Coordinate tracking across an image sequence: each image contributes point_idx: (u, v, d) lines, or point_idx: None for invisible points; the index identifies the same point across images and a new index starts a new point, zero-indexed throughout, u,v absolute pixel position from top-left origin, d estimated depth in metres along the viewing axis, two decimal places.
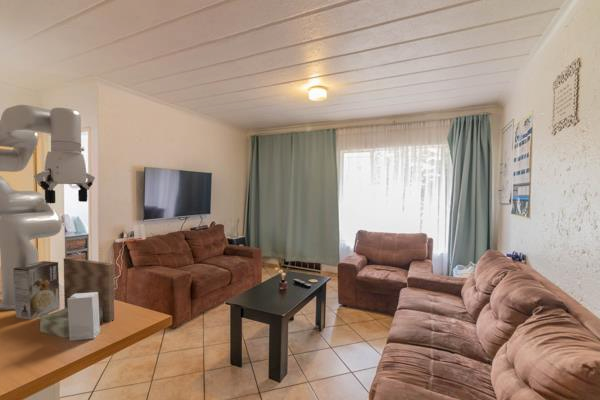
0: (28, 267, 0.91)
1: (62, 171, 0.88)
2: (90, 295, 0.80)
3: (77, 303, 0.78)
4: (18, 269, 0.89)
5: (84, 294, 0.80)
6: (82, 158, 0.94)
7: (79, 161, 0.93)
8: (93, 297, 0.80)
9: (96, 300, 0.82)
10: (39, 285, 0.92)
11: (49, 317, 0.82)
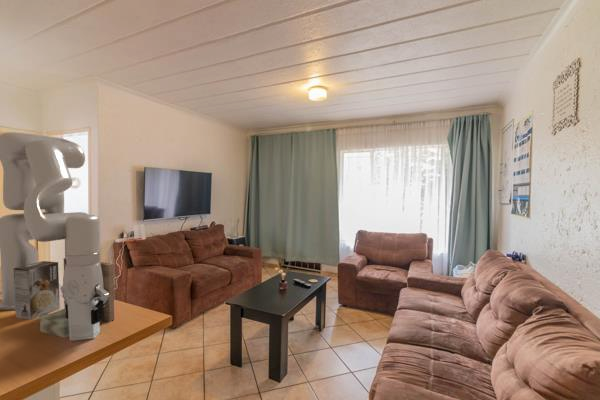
0: (28, 267, 0.91)
1: None
2: None
3: (77, 303, 0.78)
4: (18, 269, 0.89)
5: None
6: None
7: None
8: (93, 297, 0.80)
9: (96, 300, 0.82)
10: (39, 285, 0.92)
11: (49, 317, 0.82)
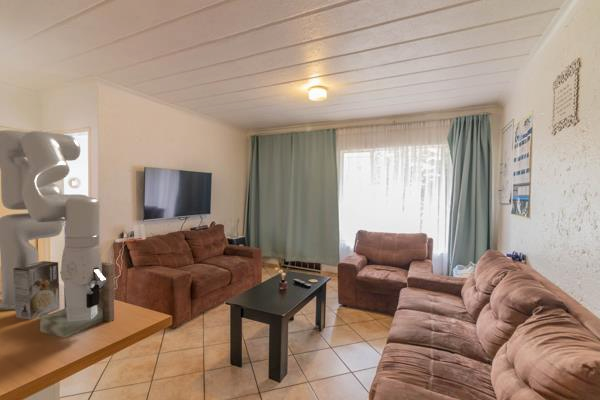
0: (28, 267, 0.91)
1: None
2: None
3: (74, 284, 0.78)
4: (18, 269, 0.89)
5: None
6: None
7: None
8: None
9: None
10: (39, 285, 0.92)
11: (49, 317, 0.82)
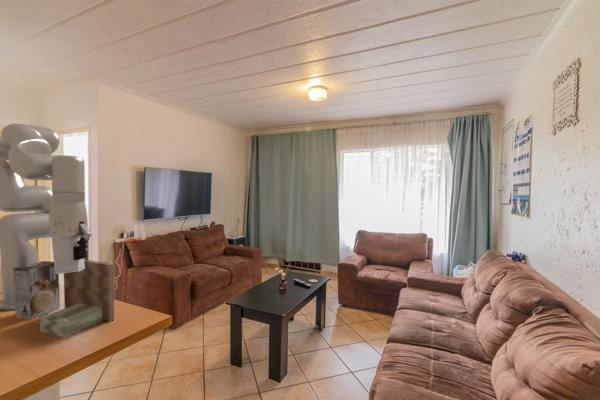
0: (28, 267, 0.91)
1: None
2: None
3: (61, 237, 0.82)
4: (18, 269, 0.89)
5: None
6: None
7: None
8: None
9: None
10: (39, 285, 0.92)
11: (49, 317, 0.82)
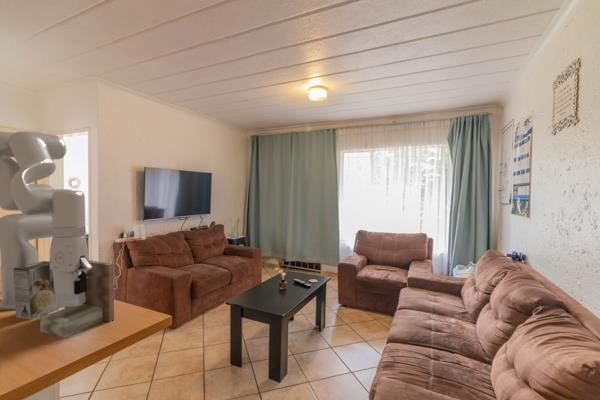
0: (28, 267, 0.91)
1: None
2: None
3: (61, 272, 0.83)
4: (18, 269, 0.89)
5: None
6: None
7: None
8: None
9: None
10: (39, 285, 0.92)
11: (49, 317, 0.82)
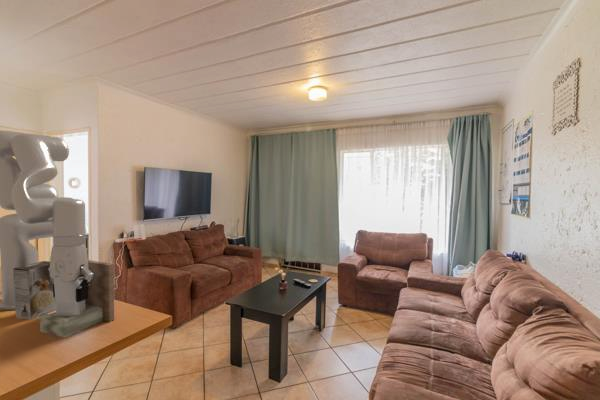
0: (28, 267, 0.91)
1: None
2: None
3: (63, 281, 0.83)
4: (18, 269, 0.89)
5: None
6: None
7: None
8: (78, 276, 0.85)
9: None
10: (39, 285, 0.92)
11: (49, 317, 0.82)
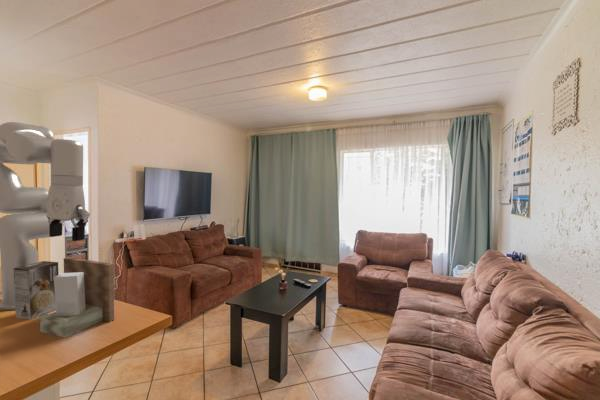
0: (28, 267, 0.91)
1: None
2: (76, 274, 0.85)
3: (63, 281, 0.83)
4: (18, 269, 0.89)
5: (70, 273, 0.85)
6: None
7: None
8: (78, 276, 0.85)
9: (81, 279, 0.86)
10: (39, 285, 0.92)
11: (49, 317, 0.82)
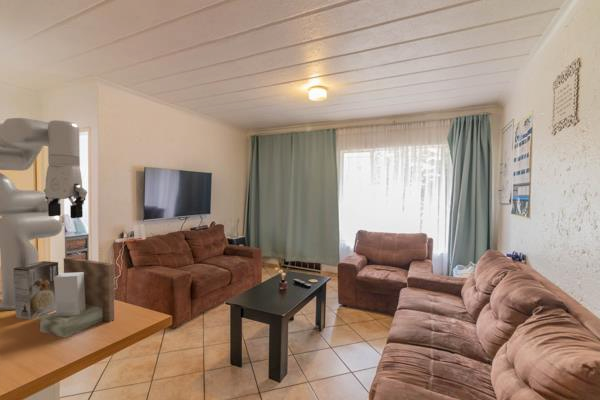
0: (28, 267, 0.91)
1: None
2: (76, 274, 0.85)
3: (63, 281, 0.83)
4: (18, 269, 0.89)
5: (70, 273, 0.85)
6: None
7: None
8: (78, 276, 0.85)
9: (81, 279, 0.86)
10: (39, 285, 0.92)
11: (49, 317, 0.82)
